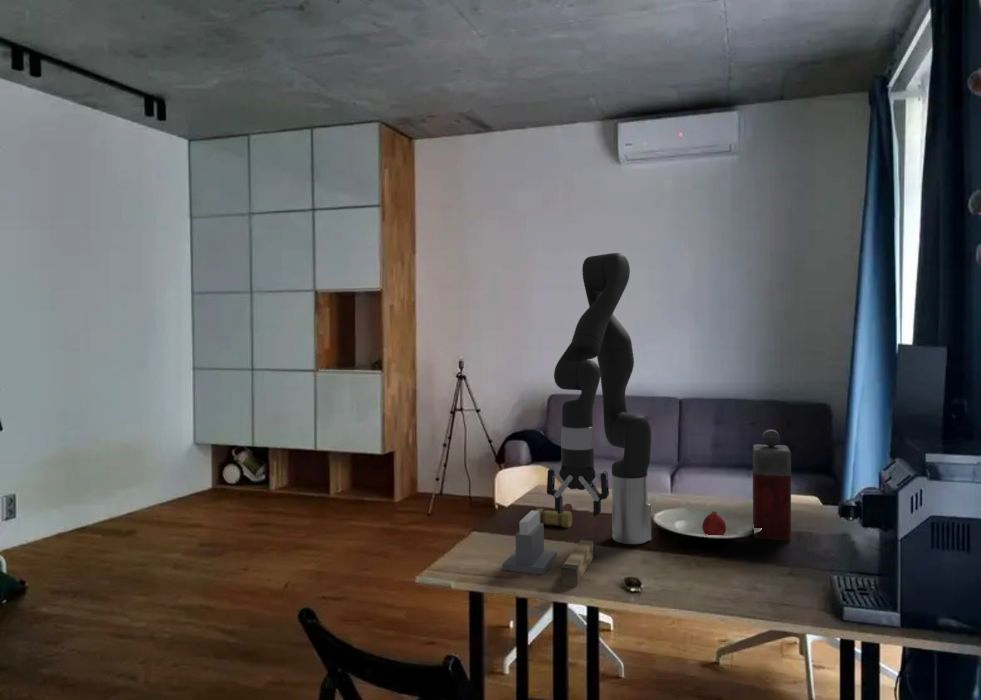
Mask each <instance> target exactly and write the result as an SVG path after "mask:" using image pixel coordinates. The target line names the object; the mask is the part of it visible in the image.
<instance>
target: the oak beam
mask: <svg viewBox="0 0 981 700" xmlns="http://www.w3.org/2000/svg"><path fill="white" fill-rule="evenodd" d="M595 556H596V537H587V536H586V537H585V536H583V537H582V538H580V541H579V542H578V544H577V545H576V547H575V548H574V550H573V551H572V553H571V554H570V555H569V556H568V558H567V559H566V560H565V562H564V563H563V565H561V568H560V570H561V586H562V587H569V588H576V587H577V586H578V584H579V582H580V580H581V578H582V577H583V575H584V574H585V571H586V570H587V569H588V567H589V566H590V564H591V562H592V560H593V558H595Z"/></svg>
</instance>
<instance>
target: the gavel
mask: <svg viewBox="0 0 981 700" xmlns="http://www.w3.org/2000/svg"><path fill="white" fill-rule="evenodd" d="M535 511H539V512H540V523H544V525H546V526H555V527H560V526H561V527H562V528H567V529H568V528H570V527H571V526H572V525H573V514H572V511H573V505H572V503H565V504H563V511H562V513H561V514H558V513H557V511H556V510H553V511H552V510H546V509H544V508H536V510H535Z"/></svg>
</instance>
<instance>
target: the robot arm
mask: <svg viewBox="0 0 981 700" xmlns="http://www.w3.org/2000/svg"><path fill="white" fill-rule="evenodd" d="M581 270H582V281H583V284H584V285H583V286H584V290H585V295H586V298H587V303H588V308H587V309H586V310H585V312H584V313H583V314H582V315H581V316H580V318H579V320H578V321H577V324H576V326H575V330H574V332H573V335H572V339H571V342H570V344H569V345H568V347H567V348H566V349H565V351H564V352H563V354H562V356H560V358H559V360H558V361H557V363H556V365H555V367H554V372H553V380H554V383H555V384H556V386H557V387H558V388H559V389H562V390H568V391H580V395H579V396H578V398H577V399H570V400H566V401H564V402H563V403H562V408H561V423H562V424H561V425H562V427H561V433H560V434H561V435H560V437H561V438H560V447H561V448H560V449H561V450H560V451H561V452H560V453H561V455H560V456H561V457H560V462H561V463H560V467H561V468H560V469H556V468H555V467H551V468H549V469H548V470H547V479H546V480H547V481H546V494H547V495H549V496H553V497H554V511H557V513H558V514H561V513H562V511H563V506H564V504H563V496H562V494H563V493H564V491H566V489H567V488H569V489H570V490H579V491H584V490H586V492H587V493H588V494H589V495H590V496H591V497H592V499H593V503H592V504H593V507H592V509H593V518H598V516H599V515H600V514H601V511H602V500H606V499H607V498H608V497H609V496H610V494H609V493H610V491H609V490H610V489H609V487H610V486H609V474H608V471H606V470H604V471H602V472H601V471H598V472H597V471H595V468H594V467H595V463H594V462H595V456H594V454H595V452H594V451H595V450H594V449H595V447H594V445H595V442H594V441H595V439H594V437H595V436H594V429H593V428H594V427H593V426H594V425H593V411H594V409H593V408H594V404H595V399H596V394H597V391H598V389H599V384H600V385H601V392H602V394H601V395H602V405H603V406H602V407H603V427H604V434H605V438H606V440H607V442H608V444H610V445H611V446H613V447H616V448H619V449H620V448H621V449H623V458H622V459H621V460H617V461H614V462H612V465H611V505H612V508H611V509H612V510H611V514H612V515H611V517H612V523H611V524H612V531H611V533H612V534H611V535H612V540H613V541H615V542H617V543H620V544H625V545H641V544H644V543H647V542H648V541H649V542H650V541H652V505H651V504H650V503H649V502H648V501H649V500H648V498H649V496H648V493H649V492H648V469H649V466H650V463H651V452H652V451H651V450H652V449H651V448H652V447H651V446H652V430H651V429H652V428H651V424H650V421H649V420H648V419H647V417H645V416H643V415H639V414H633V413H628V409H627V404H626V391H627V387H628V383H629V381H630V378H631V376H632V373H633V371H634V366H635V359H634V351H633V345H632V340H631V337H630V334H629V333H628V332H627V330H626V329H625V327H624V326H623V325H622V324H621V322H620V321H619V320H618V319H617V317H616V316H615V315H614V312H615V310H616V309H617V307H618V303H619V301H621V298H622V296H623V294H624V292H625V289H627V288H626V287H627V285H628V282H629V279H630V274H631V273H630V272H631V270H630V263H629V260H628V258H627V256H626V255H624V254H623V253H620V252H613V253H611V252H610V253H605V254H597V255H591V256H588V257H586V258H585V259H584V261H583V263H582V269H581ZM595 358H597V362H595V361H594V360H592V359H595ZM558 475H559V477H560V478H561V480H562V481H563V482H562V484H561V485H560V486H559V488H558V489H555V483H556V478H558ZM595 478H596V479H597V481H598V482H599V483H600V487H601V488H600V489H601V492H600V491H599V490H598V489H597V486H596V485H595V484H594V482H593V481H594V479H595Z"/></svg>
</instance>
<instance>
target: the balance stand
mask: <svg viewBox="0 0 981 700" xmlns="http://www.w3.org/2000/svg"><path fill="white" fill-rule="evenodd" d="M518 523H519V526H518V527H519V530H518V531H517V532H515V550H514V552H512V554H510V555H509V557H508V558H507V559H506V560H505V561H503V563H502V571H506V570H510V571H509V572H515V571H516V573H525V574H534V575H543V576H544V575H545V574H546V573H547V571H548V570H549V569H550V567H551V566H552V565H553V563H554V562H555V560H557V558H558V551H555V550H546V549H545V534H544V533H545V532H544V531H545V527H544V526H545V524H544V523H540V512H539V511H536V510H530V511H529V512H528V513H527V514H526V515H525V516H524V517H523V518H522V519H521V520H519V522H518Z"/></svg>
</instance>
